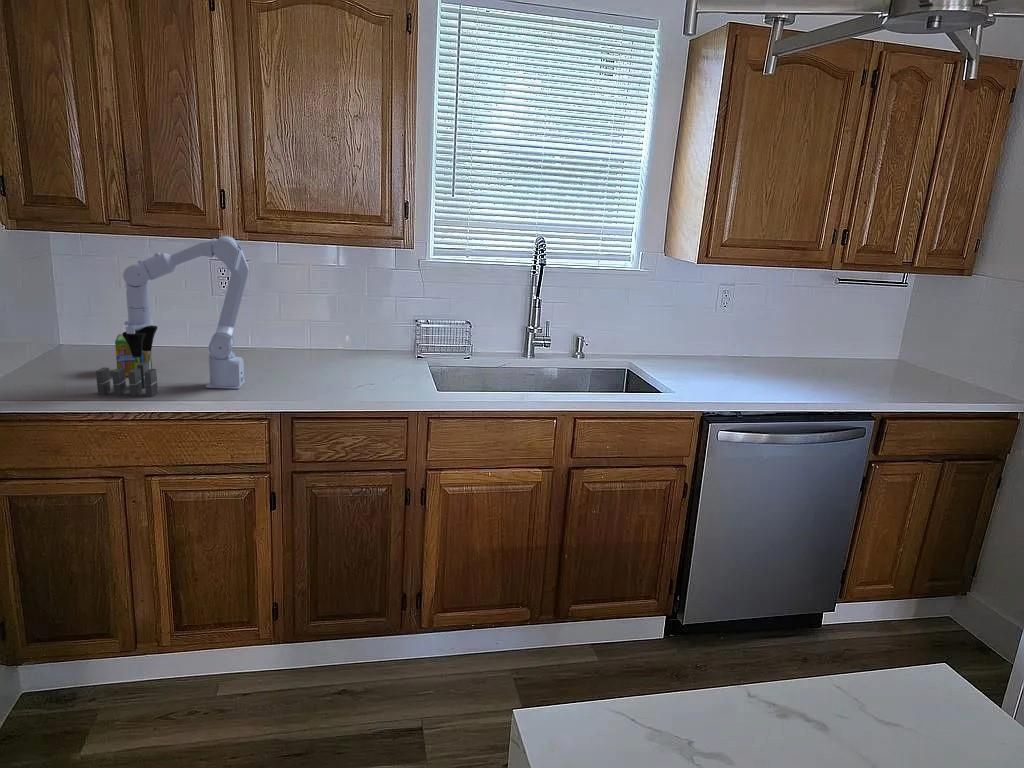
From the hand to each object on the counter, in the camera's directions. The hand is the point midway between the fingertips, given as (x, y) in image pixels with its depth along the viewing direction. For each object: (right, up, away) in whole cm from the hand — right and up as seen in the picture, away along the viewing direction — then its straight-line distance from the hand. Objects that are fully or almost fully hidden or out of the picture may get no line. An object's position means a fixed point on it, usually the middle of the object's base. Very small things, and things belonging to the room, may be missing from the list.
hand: (142, 353), depth 209 cm
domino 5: (+5, -12, -5) cm, 14 cm away
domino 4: (-1, -10, +2) cm, 10 cm away
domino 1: (-7, -11, -6) cm, 15 cm away
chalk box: (-10, -6, +16) cm, 20 cm away
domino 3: (+1, -12, -5) cm, 13 cm away
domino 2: (-3, -12, -6) cm, 13 cm away
